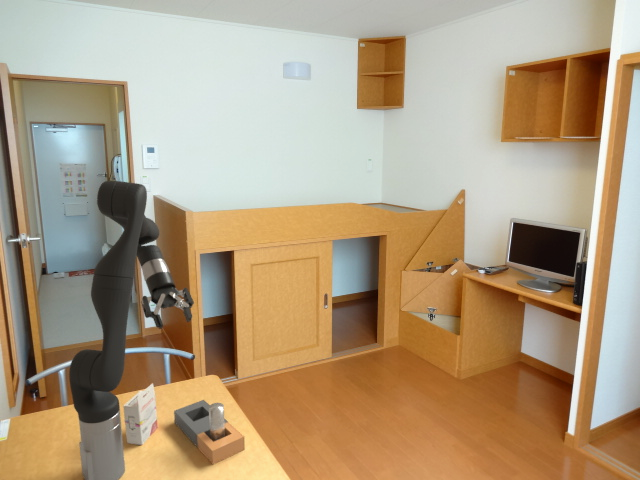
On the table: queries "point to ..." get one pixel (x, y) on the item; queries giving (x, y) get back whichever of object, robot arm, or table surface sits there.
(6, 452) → the table surface
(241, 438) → the socket block
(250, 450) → the table surface
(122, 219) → the robot arm
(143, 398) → the ink cartridge box
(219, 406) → the silver metal cylinder
